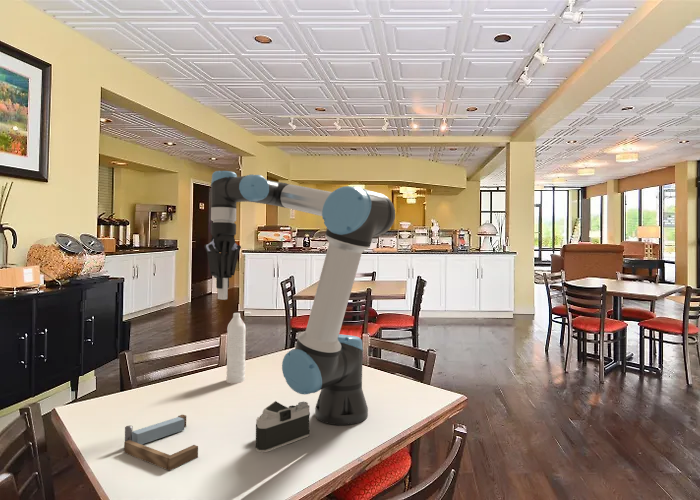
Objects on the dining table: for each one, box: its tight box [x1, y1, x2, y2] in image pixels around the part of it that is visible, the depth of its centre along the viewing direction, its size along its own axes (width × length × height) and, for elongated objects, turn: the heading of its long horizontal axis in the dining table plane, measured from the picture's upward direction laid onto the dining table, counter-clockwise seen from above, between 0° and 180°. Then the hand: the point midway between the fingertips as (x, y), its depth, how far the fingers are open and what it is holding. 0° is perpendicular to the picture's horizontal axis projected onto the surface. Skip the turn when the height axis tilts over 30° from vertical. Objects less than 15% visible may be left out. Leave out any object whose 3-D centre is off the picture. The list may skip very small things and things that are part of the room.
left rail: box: [167, 444, 199, 471], centre depth 99 cm, size 1×7×2 cm, turn 149°
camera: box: [254, 400, 311, 453], centre depth 112 cm, size 16×9×10 cm, turn 136°
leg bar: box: [132, 416, 185, 445], centre depth 112 cm, size 12×3×3 cm, turn 144°
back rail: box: [123, 440, 171, 471], centre depth 100 cm, size 15×1×2 cm, turn 59°
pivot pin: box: [124, 425, 133, 442], centre depth 106 cm, size 2×2×5 cm
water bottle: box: [226, 311, 252, 384], centre depth 162 cm, size 9×6×25 cm
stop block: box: [177, 414, 187, 429], centre depth 119 cm, size 2×1×3 cm
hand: (222, 299), depth 137 cm, fingers closed
